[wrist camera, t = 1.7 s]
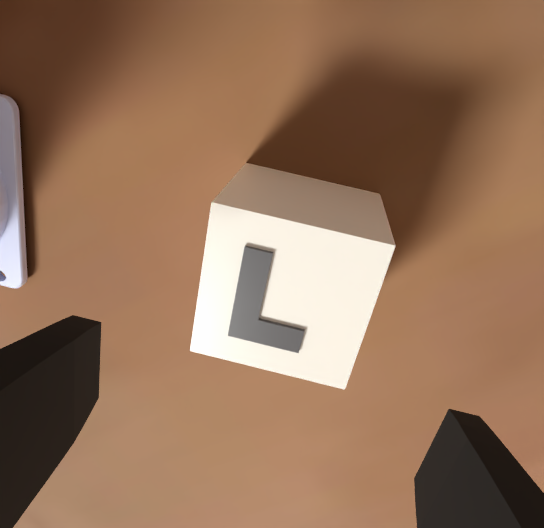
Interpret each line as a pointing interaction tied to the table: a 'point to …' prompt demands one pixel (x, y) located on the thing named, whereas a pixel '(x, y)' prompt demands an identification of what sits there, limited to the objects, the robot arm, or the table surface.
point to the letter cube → (291, 274)
